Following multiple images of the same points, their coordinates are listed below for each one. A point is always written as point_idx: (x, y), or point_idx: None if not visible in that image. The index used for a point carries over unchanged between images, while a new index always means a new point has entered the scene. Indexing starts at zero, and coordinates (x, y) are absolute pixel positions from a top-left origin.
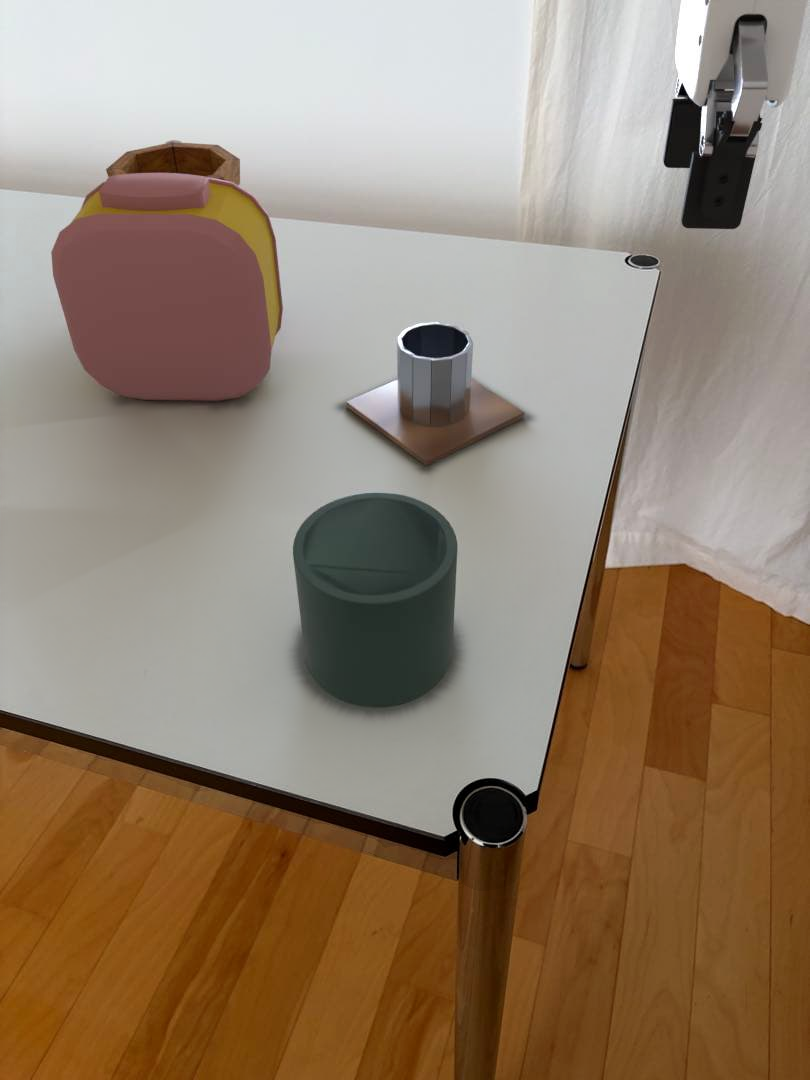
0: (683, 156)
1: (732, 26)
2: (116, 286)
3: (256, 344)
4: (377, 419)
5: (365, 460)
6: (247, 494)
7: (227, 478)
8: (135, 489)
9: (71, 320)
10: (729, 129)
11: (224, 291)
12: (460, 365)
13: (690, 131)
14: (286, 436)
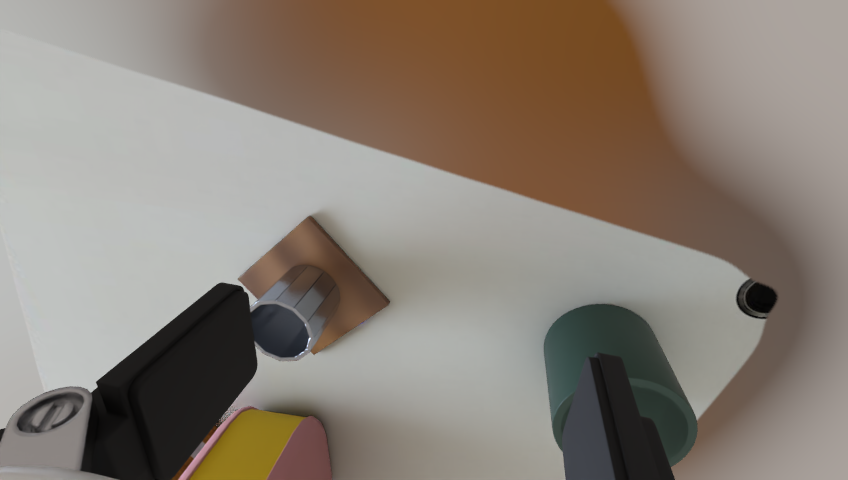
0: (241, 359)
1: None
2: None
3: (301, 450)
4: (335, 334)
5: (385, 342)
6: (430, 415)
7: (412, 425)
8: (426, 471)
9: None
10: None
11: None
12: (304, 306)
13: (204, 395)
14: (359, 390)
